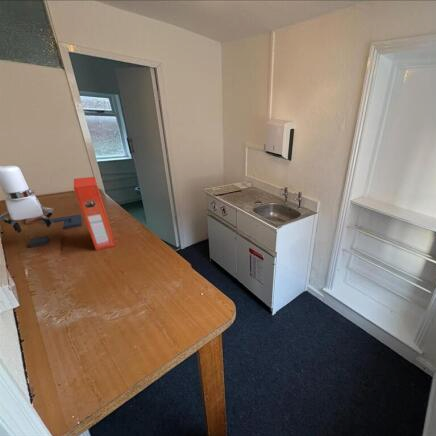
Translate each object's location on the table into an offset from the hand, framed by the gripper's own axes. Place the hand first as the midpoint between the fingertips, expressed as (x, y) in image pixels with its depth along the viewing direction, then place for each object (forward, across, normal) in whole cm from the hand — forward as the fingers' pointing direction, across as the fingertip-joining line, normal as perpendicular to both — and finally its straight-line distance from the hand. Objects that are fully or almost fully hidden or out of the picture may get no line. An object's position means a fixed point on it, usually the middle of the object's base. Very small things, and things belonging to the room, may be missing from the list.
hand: (34, 228), depth 110 cm
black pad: (+10, 0, 0) cm, 10 cm away
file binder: (+10, -24, +10) cm, 27 cm away
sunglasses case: (+10, +7, -46) cm, 47 cm away
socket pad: (+10, -6, -26) cm, 29 cm away
